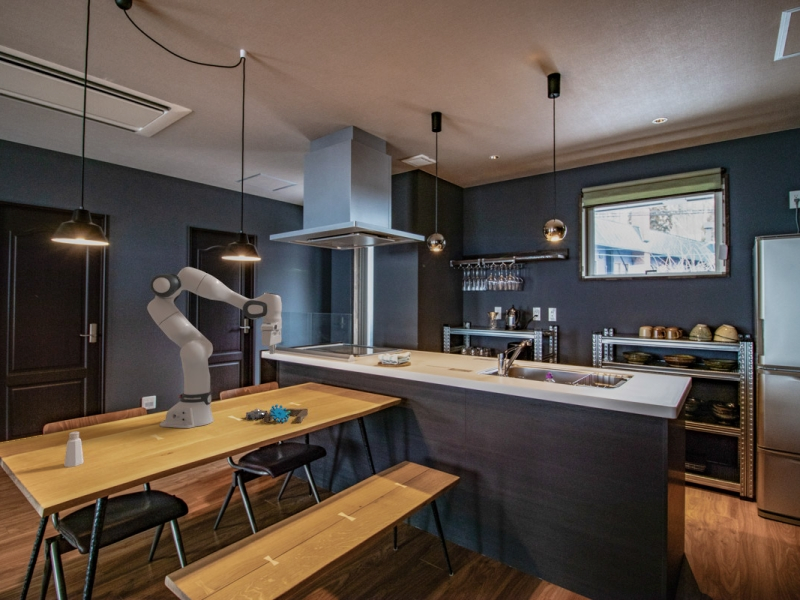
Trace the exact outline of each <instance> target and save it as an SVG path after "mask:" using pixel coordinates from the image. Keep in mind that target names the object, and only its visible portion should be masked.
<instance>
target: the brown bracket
mask: <svg viewBox="0 0 800 600" xmlns="http://www.w3.org/2000/svg"><path fill="white" fill-rule="evenodd" d="M286 409H287V410H286V411H285V412H287V411H290V413H289V414H288V415H297V416H296V418H295V419H296V422H295V423H297V424H301V423H302V422H303V419H304V420H305V419H306V417H308V416H309V414H308V413H309V411H308V410H309V409H308V408H286ZM273 411H274V410H273ZM270 413H271V412H270V411H269V412H268V414H267V415H266V416H264V419H263V420H264V421H263V423H264V422H269V423H271V422H272V420H273V417H275V416H270ZM273 414H274V413H273Z"/></svg>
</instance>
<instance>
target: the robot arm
mask: <svg viewBox="0 0 800 600" xmlns="http://www.w3.org/2000/svg"><path fill="white" fill-rule="evenodd" d="M149 287H150V290H151V291H150V292H152V293H153V295H155V296H154V298H153V299H151V301H150V302H149V303H148V304H147V307H146V308H147V309H146V310H147V312H148V313H149V316H150V317H151V318H152V320H153V321H154V323H155V324H156V325H157V326H158V328H159V329H160V330H161V331H162V332H163V334H165V336H167V339H169V340H170V341H172V342H173V343H175V345H177V346H178V347H179V348H180V351H179V356H180V359H181V365H182V366H181V367H182V371H183V393H181V394H179V395H178V399H180V400H179V401H178V402H177V403H176V404H174V405H173V406H171V408H169V409H168V410H167V412H166V415H165V418H164V420H162V421H161V422H160V423H159V427H161V428H175V429H176V428H179V429H190V428H194V427H200V426H205V425H210V424H211V423H214V422H215V421H214V417H213V413H212V405H211V404H212V391H211V374H210V369H209V361H208V360H209V358H210V357H211V356H212V355H213V351H214V347H213V344H212V342H211V341H210V340H209V339H208V338H207V337H206V336H205V335H204V334H202V332H201V331H199V330H198V329H197V328H196V327H195V326H194V325H193V324H192V323H191V322H190V321H189V320H188V319H187V317H185V315H184V314H183V313H182V312H181V311H180V309H179V308H178V307H177V306H176V304H175V302H176V301H177V299H178V298H179V297H180V296H181V295H182V293H183V291H188V292H190V293H193V294H194V295H197V296H199V297H202V298H205V299H208V300H212V301H220V302H224V303H227V304H230V305H232V306H234V307H236V308H238V309H240V310H242V313H243V315H244V316H245V317H246V318H248V319H251V320H259V319H261V318H262V324H261V325H260V331H261V345H262V346H263V347H268V350H269V355H274V354H275V353H276V348H277V345H278V344H280V343H282V329H283V327H282V326H283V325H282V324H283V321H282V319H283V318H282V311H283V304H282V297H281V296H280V294H277V293H272V292H265V293H263V294H261V295H259V296H258V297H255V298H248V297H246V296H244V295H241V294H240V293H238V292H235V291H233V290H232V289H230V288H229V287H228V286H227V285H225V284H224V283H223V282H222V281H221V280H219V279H217V278H216V277H215V276H214V275H211V274H209V273H206V272H205V271H203V270H200V269H197V268H194V267H192V266H186V267H183V268H181V270H180V271H179V272H178V274H176V273H160V274H157V275H155V276H154V277H152V279H151V280H150V283H149Z"/></svg>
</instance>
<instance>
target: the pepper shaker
mask: <svg viewBox="0 0 800 600" xmlns="http://www.w3.org/2000/svg"><path fill="white" fill-rule="evenodd" d="M68 435H69V436H68V438H69V439H68V440H67V443H66V450H65V455H64V457H65V458H64V467H65V468H72V467H77V466H80V465H83V463H84V462H85V461H84V453H83V445H82V444H83V443H82V439H81V438H80V431H72V432H70V433H68Z"/></svg>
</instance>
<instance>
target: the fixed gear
mask: <svg viewBox="0 0 800 600" xmlns="http://www.w3.org/2000/svg"><path fill="white" fill-rule="evenodd" d="M268 413H269V412H268V410H263V409H260V408H255V409H254V410H251V411H247V412H246V413H245V420H246V419H252V420H255V419H263V418H264V416H266V415H267V414H268ZM252 420H251V421H252ZM263 420H264V419H263ZM255 421H256V420H255Z"/></svg>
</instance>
